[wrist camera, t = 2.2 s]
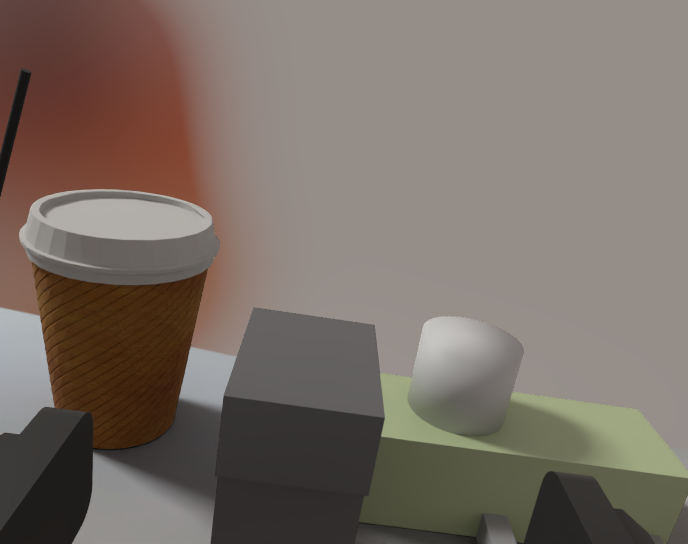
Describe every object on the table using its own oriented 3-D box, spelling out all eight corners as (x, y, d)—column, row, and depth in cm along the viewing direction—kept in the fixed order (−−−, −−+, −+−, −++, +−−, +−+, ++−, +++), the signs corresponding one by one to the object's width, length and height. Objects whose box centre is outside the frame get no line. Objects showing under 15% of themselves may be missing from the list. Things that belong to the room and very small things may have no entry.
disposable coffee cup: (187, 478, 31) (208, 255, 27) (-11, 460, 30) (-21, 225, 26) (213, 381, 40) (231, 202, 36) (61, 364, 39) (62, 178, 35)
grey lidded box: (195, 655, 23) (223, 395, 19) (228, 521, 29) (253, 307, 25) (331, 670, 23) (384, 418, 19) (334, 534, 29) (374, 324, 26)
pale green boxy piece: (344, 663, 23) (388, 465, 20) (344, 445, 36) (371, 303, 33) (751, 710, 24) (852, 527, 21) (611, 481, 37) (661, 346, 34)
